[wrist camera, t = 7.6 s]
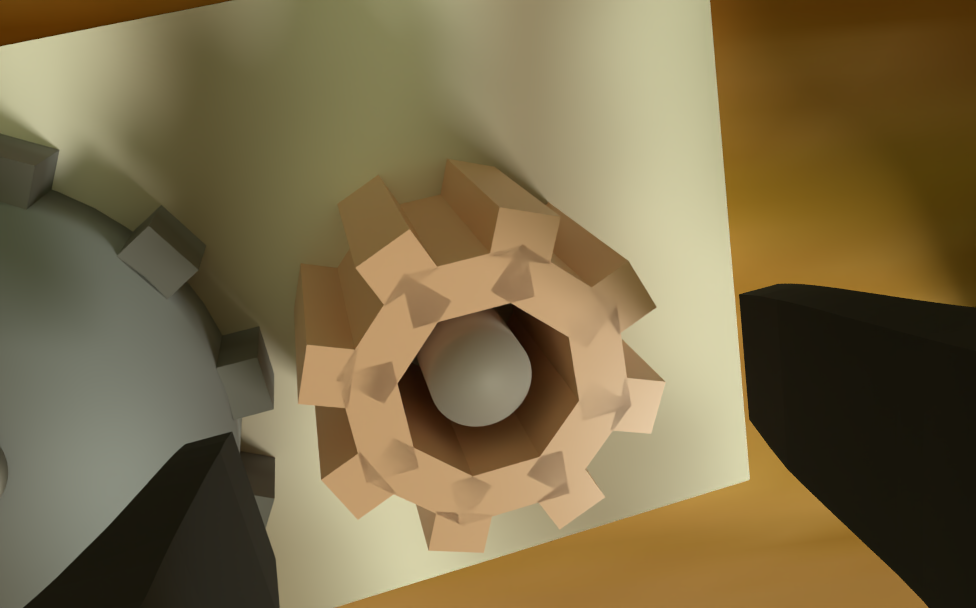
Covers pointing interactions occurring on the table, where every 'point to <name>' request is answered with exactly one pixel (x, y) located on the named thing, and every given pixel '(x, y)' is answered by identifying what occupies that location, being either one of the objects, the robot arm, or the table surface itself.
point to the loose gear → (452, 293)
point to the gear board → (335, 254)
